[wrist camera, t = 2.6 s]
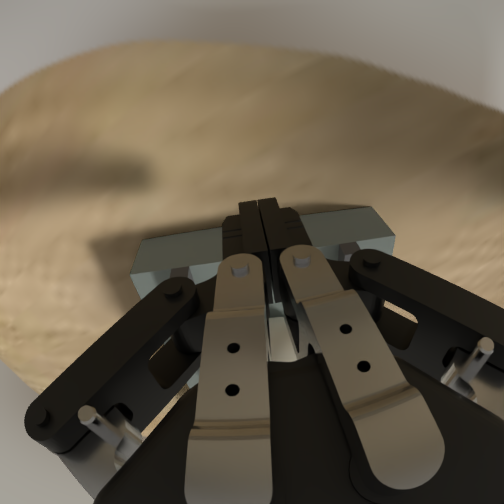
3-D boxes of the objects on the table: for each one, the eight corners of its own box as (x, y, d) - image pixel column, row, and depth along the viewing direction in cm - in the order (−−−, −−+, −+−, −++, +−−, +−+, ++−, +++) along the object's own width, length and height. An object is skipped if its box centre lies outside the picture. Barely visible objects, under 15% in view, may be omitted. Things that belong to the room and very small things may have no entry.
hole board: (371, 206, 19) (403, 245, 15) (336, 407, 36) (343, 435, 32) (142, 240, 19) (125, 286, 15) (226, 423, 36) (228, 452, 32)
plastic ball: (320, 288, 17) (349, 373, 13) (316, 347, 21) (336, 420, 16) (218, 303, 17) (219, 394, 13) (235, 359, 21) (240, 435, 16)
